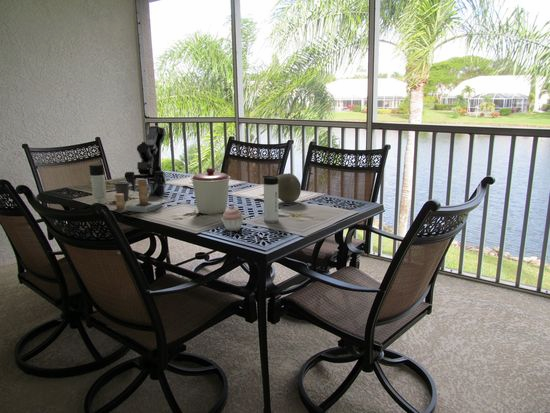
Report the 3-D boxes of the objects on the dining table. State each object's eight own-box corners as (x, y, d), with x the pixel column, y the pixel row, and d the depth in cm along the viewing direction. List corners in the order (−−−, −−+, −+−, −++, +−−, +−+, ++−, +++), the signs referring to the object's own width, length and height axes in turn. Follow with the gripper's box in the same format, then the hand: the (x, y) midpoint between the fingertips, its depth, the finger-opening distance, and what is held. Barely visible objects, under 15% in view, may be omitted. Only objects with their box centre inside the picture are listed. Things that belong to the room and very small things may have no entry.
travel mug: (262, 219, 191) (262, 174, 186) (277, 218, 192) (277, 174, 187) (263, 223, 185) (263, 177, 180) (279, 222, 186) (278, 176, 181)
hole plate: (126, 210, 208) (125, 206, 208) (142, 204, 219) (142, 200, 218) (146, 212, 203) (145, 208, 203) (162, 206, 214) (161, 202, 214)
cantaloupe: (286, 198, 231) (286, 170, 227) (306, 202, 221) (306, 173, 217) (267, 202, 221) (267, 173, 217) (287, 207, 211) (287, 177, 208)
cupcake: (217, 230, 175) (216, 206, 173) (227, 224, 184) (227, 201, 181) (238, 233, 172) (237, 208, 170) (247, 226, 181) (247, 203, 178)
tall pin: (138, 208, 211) (136, 180, 208) (146, 207, 214) (144, 179, 210) (142, 209, 208) (139, 181, 205) (150, 208, 211) (147, 180, 208)
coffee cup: (134, 198, 232) (132, 180, 229) (123, 202, 224) (121, 183, 222) (123, 197, 235) (121, 179, 232) (111, 200, 228) (109, 181, 225)
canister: (197, 207, 213) (194, 164, 208) (233, 207, 213) (232, 164, 208) (188, 217, 196) (186, 170, 191) (228, 217, 195) (227, 170, 190)
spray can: (110, 202, 224) (106, 163, 219) (101, 205, 218) (96, 165, 213) (99, 201, 226) (95, 163, 221) (90, 204, 220) (85, 165, 215)
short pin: (114, 208, 211) (113, 194, 209) (120, 207, 214) (119, 193, 213) (121, 209, 209) (119, 195, 207) (126, 207, 213) (125, 193, 211)
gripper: (123, 155, 211) (119, 182, 203) (162, 154, 212) (160, 181, 204) (129, 168, 220) (125, 194, 212) (166, 168, 221) (164, 194, 214)
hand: (143, 191), depth 210 cm, fingers open, 9 cm apart
